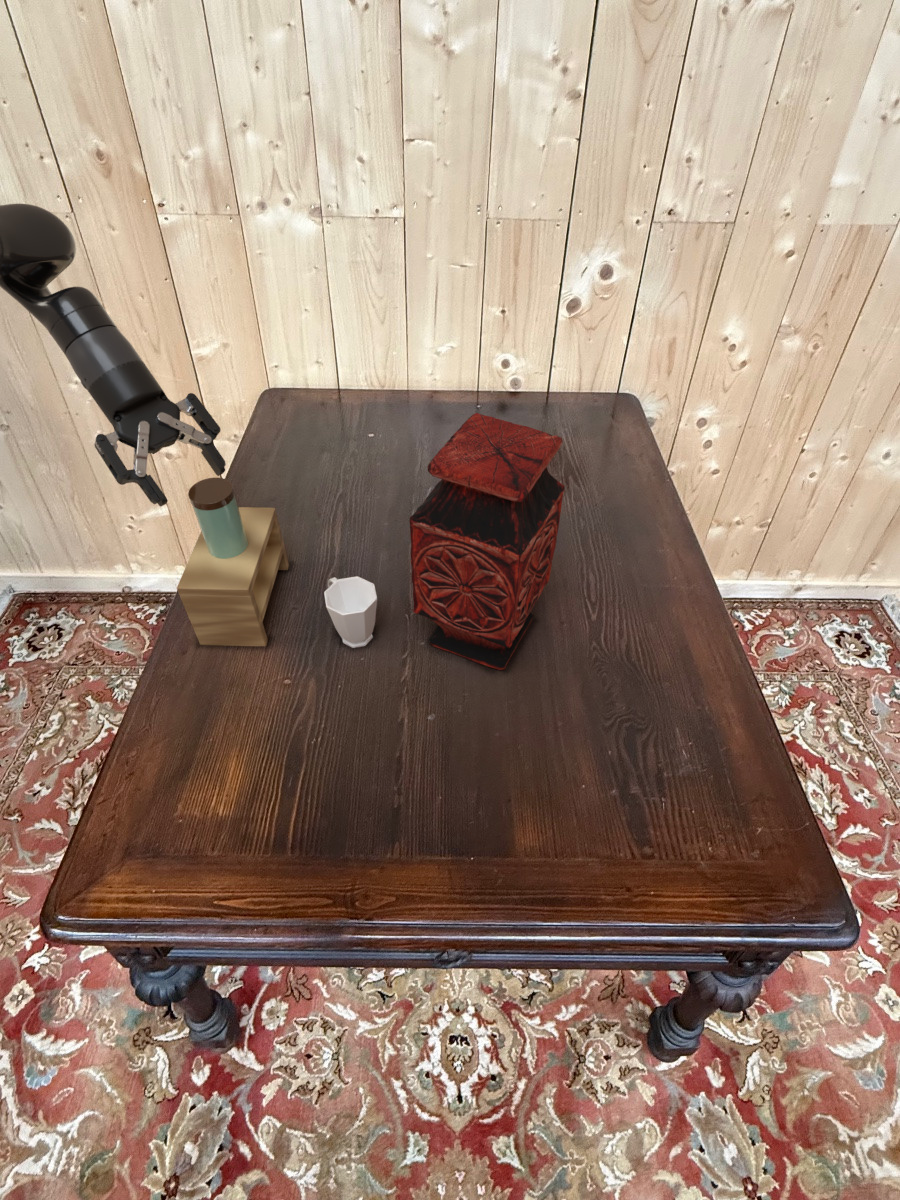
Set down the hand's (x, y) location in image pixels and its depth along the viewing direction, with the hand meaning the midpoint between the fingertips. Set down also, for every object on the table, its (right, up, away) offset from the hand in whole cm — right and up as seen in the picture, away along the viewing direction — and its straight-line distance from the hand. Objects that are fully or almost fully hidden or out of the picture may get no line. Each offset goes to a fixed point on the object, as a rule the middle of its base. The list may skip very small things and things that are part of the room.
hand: (194, 488), depth 88 cm
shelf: (+4, -15, +11) cm, 19 cm away
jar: (+3, -7, +3) cm, 8 cm away
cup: (+19, -18, +7) cm, 28 cm away
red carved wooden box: (+37, -19, +7) cm, 42 cm away
